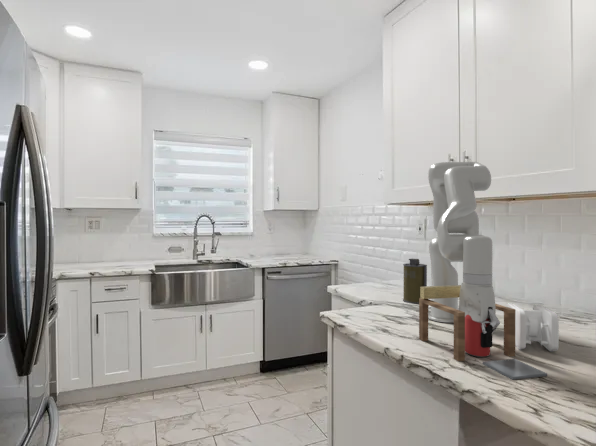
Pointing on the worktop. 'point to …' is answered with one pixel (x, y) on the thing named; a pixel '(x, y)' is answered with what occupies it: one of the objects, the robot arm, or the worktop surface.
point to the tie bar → (440, 292)
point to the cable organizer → (536, 327)
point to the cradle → (460, 327)
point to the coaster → (514, 369)
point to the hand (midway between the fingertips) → (477, 342)
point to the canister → (414, 280)
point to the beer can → (474, 338)
